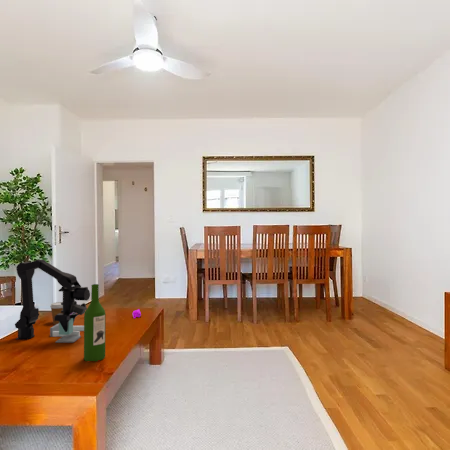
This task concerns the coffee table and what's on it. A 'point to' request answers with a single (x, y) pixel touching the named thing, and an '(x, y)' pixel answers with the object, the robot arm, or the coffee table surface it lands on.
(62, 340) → the coaster
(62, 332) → the block
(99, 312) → the wine bottle
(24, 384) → the coffee table surface
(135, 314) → the crystal
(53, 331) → the channel
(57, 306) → the disposable coffee cup
